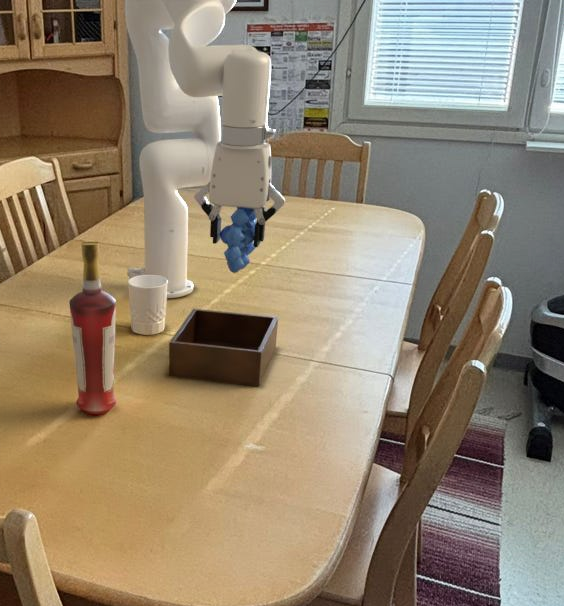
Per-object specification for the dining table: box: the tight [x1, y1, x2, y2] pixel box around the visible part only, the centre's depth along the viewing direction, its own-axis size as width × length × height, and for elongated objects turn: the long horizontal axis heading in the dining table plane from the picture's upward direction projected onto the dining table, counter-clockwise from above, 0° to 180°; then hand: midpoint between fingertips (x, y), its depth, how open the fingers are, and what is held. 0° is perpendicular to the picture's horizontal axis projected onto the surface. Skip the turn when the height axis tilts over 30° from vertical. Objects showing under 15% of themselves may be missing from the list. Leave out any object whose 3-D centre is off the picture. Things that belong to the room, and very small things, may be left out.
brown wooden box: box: [168, 308, 279, 387], centre depth 159 cm, size 17×18×6 cm
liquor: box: [68, 239, 118, 416], centre depth 137 cm, size 7×7×28 cm
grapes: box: [219, 207, 257, 274], centre depth 152 cm, size 12×7×12 cm, turn 153°
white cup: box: [127, 275, 168, 336], centre depth 172 cm, size 8×8×10 cm
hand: (236, 242), depth 152 cm, fingers closed on grapes, 6 cm apart
